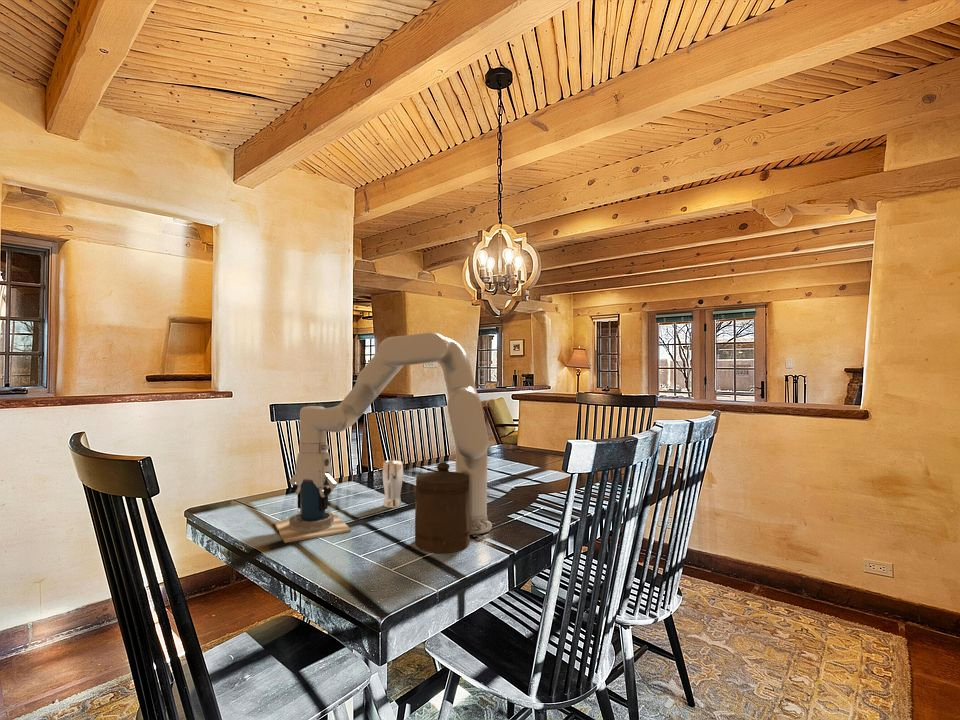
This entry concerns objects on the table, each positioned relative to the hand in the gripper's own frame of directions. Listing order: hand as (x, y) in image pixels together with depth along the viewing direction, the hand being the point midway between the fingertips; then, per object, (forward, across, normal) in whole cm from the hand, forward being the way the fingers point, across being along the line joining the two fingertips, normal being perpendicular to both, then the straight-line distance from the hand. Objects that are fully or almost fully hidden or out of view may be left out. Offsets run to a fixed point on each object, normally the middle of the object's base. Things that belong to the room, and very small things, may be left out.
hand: (312, 508), depth 146 cm
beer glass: (+6, -11, -29) cm, 31 cm away
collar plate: (+6, 0, 0) cm, 6 cm away
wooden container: (+6, -41, -2) cm, 41 cm away
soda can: (+3, 0, 0) cm, 3 cm away
